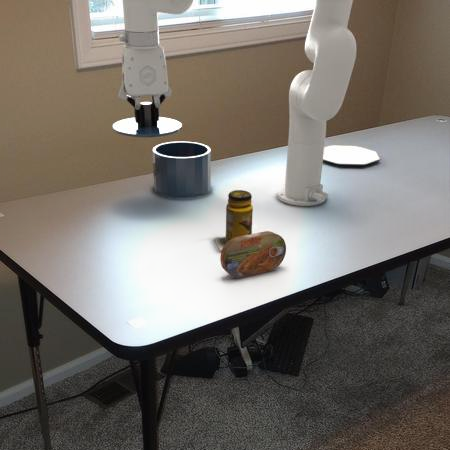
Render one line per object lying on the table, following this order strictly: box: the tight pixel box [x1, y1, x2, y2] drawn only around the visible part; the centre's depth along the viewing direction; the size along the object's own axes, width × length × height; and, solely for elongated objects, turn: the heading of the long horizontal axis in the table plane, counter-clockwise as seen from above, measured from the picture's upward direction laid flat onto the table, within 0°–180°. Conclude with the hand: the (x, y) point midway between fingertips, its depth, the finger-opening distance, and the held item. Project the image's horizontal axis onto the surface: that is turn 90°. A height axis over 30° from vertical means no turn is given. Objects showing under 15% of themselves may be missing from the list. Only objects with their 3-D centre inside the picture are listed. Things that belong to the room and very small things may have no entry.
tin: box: [219, 230, 287, 279], centre depth 138 cm, size 15×3×8 cm, turn 117°
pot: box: [152, 141, 212, 199], centre depth 179 cm, size 16×16×11 cm
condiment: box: [213, 189, 254, 252], centre depth 149 cm, size 7×8×12 cm
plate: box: [323, 145, 381, 166], centre depth 208 cm, size 20×20×2 cm
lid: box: [112, 101, 183, 139], centre depth 157 cm, size 17×17×6 cm
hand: (147, 124), depth 158 cm, fingers closed on lid, 2 cm apart
